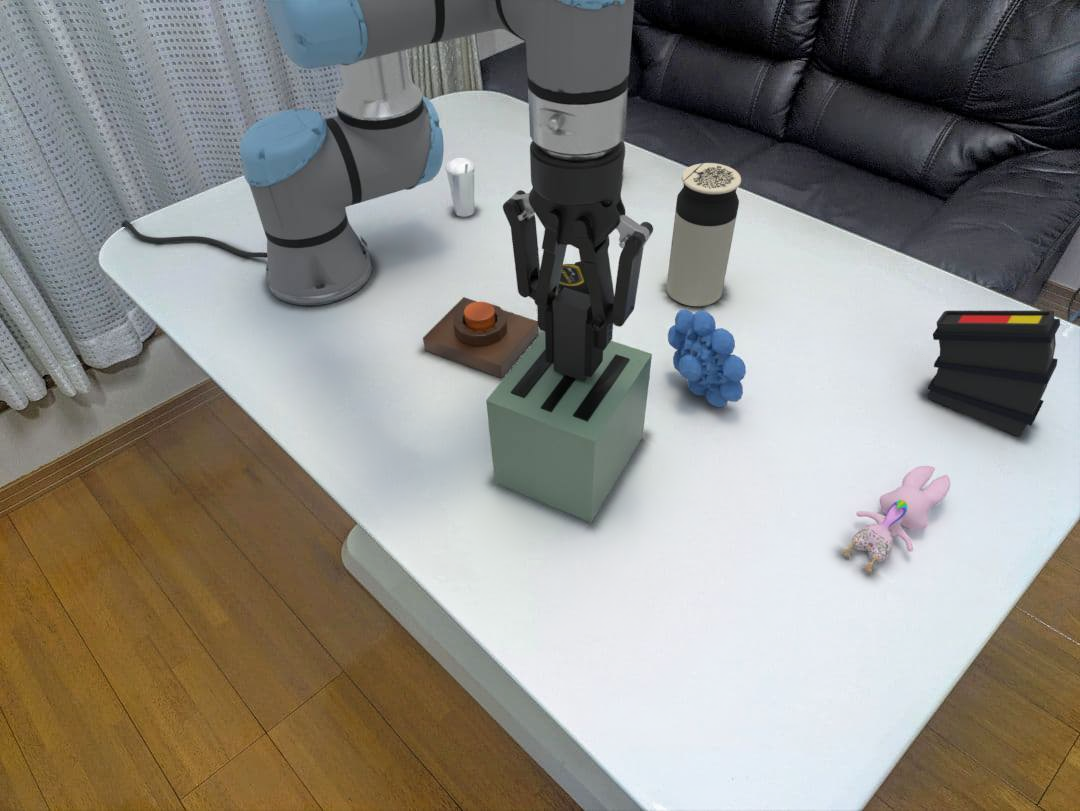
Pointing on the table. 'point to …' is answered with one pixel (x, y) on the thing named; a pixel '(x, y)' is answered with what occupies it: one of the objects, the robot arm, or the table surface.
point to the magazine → (995, 365)
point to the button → (479, 315)
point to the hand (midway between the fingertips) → (574, 361)
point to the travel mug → (702, 233)
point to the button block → (482, 339)
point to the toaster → (568, 427)
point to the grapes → (706, 357)
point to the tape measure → (573, 278)
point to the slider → (570, 332)
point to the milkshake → (462, 185)
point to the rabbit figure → (900, 514)
